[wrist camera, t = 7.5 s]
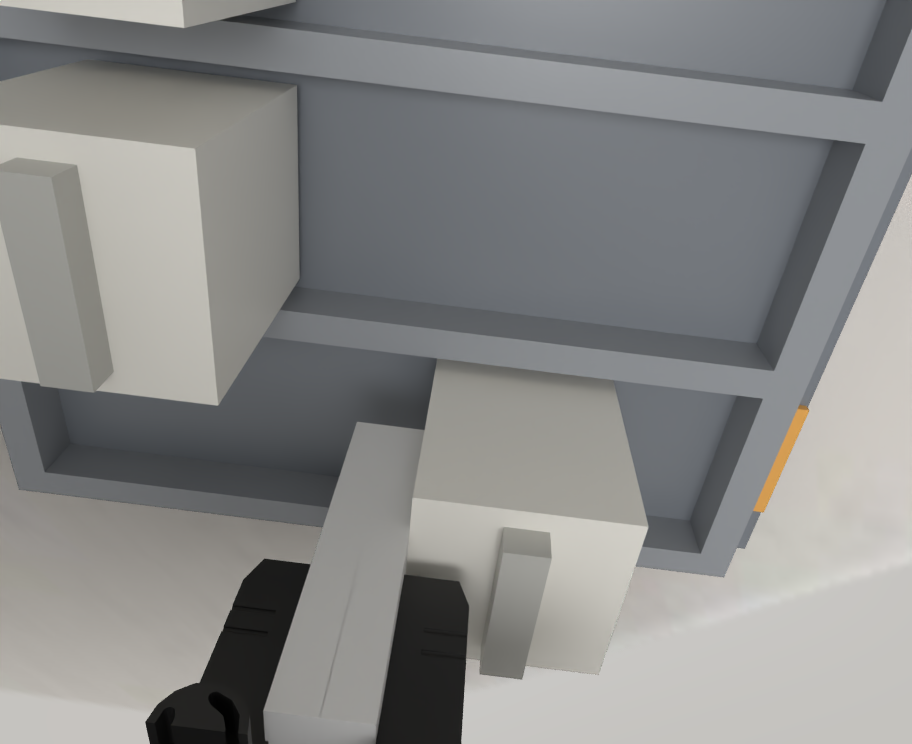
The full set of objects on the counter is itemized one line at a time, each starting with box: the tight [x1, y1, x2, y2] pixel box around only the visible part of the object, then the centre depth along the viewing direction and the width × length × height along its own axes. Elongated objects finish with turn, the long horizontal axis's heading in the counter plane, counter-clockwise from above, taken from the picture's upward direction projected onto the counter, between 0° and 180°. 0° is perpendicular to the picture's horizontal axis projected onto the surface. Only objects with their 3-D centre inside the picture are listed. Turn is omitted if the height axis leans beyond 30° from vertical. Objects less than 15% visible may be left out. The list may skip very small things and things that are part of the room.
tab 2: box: [406, 358, 649, 679], centre depth 15 cm, size 4×4×6 cm
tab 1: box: [0, 59, 300, 406], centre depth 12 cm, size 4×4×6 cm
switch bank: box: [0, 0, 912, 577], centre depth 15 cm, size 20×17×3 cm
